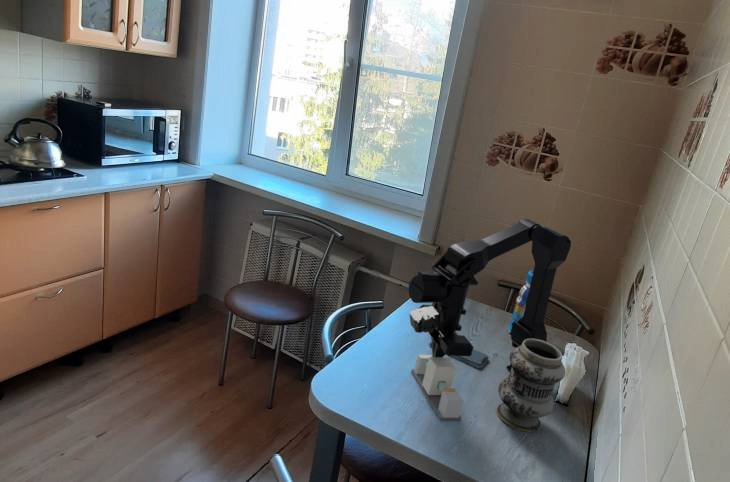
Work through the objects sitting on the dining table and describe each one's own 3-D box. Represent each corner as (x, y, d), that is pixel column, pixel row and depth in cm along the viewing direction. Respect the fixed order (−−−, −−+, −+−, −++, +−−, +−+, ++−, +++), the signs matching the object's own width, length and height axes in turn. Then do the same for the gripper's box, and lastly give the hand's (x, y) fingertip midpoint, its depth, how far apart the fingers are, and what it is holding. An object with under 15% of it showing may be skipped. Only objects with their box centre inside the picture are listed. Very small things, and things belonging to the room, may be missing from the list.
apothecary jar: (523, 441, 109) (549, 367, 103) (480, 407, 118) (502, 337, 112) (556, 427, 116) (582, 357, 111) (514, 396, 125) (535, 330, 120)
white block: (441, 384, 121) (449, 357, 119) (448, 395, 118) (456, 367, 116) (422, 384, 120) (429, 356, 118) (428, 395, 116) (435, 366, 114)
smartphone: (439, 334, 147) (489, 355, 140) (438, 340, 148) (488, 360, 141) (428, 343, 141) (480, 365, 134) (427, 349, 141) (479, 371, 134)
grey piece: (429, 372, 128) (434, 353, 126) (460, 420, 112) (466, 399, 110) (411, 372, 126) (415, 353, 125) (439, 420, 110) (445, 399, 109)
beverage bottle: (515, 325, 165) (533, 267, 159) (539, 337, 160) (559, 278, 154) (502, 331, 159) (520, 271, 153) (526, 344, 154) (546, 282, 148)
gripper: (404, 280, 122) (390, 339, 126) (433, 318, 105) (416, 384, 109) (447, 284, 125) (432, 341, 130) (482, 321, 108) (463, 385, 113)
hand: (435, 361), depth 120 cm, fingers closed
